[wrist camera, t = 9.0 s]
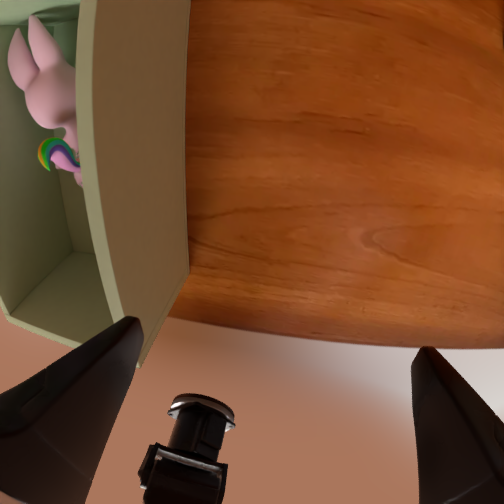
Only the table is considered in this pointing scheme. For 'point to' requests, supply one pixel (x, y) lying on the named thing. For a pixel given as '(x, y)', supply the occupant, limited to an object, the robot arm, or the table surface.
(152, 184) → the bin
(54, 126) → the rabbit figure
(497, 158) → the table surface
